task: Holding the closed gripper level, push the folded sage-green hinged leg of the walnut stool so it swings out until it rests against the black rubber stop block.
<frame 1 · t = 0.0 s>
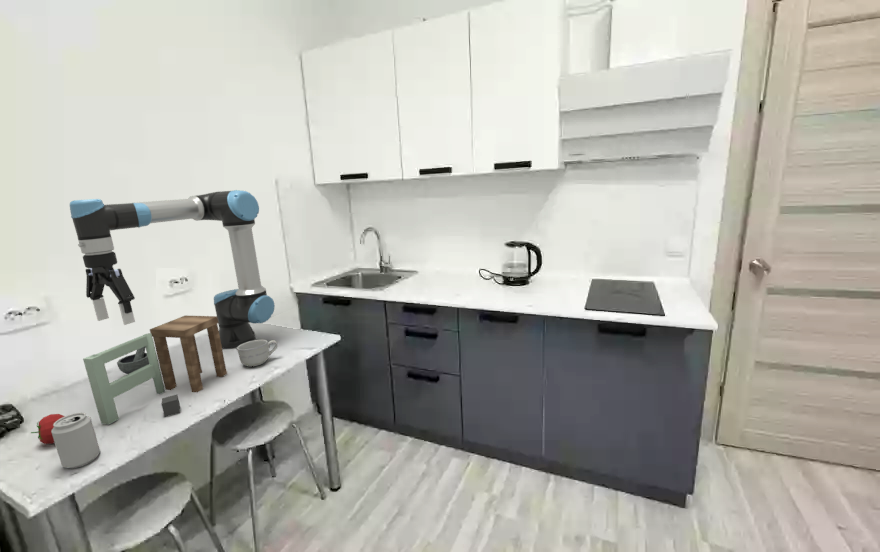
hand: (116, 321, 125), 28 cm above the table, tool pointing down, fingers open, 13 cm apart
can: (82, 461, 105), on the table
stop block: (172, 412, 125), on the table
mortar and pestle: (139, 374, 154), on the table
teacup: (260, 363, 158), on the table
tomato: (55, 442, 114), on the table
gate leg: (129, 376, 127), point 11 cm above the table, hinge at 0.0°
stool: (197, 381, 145), on the table
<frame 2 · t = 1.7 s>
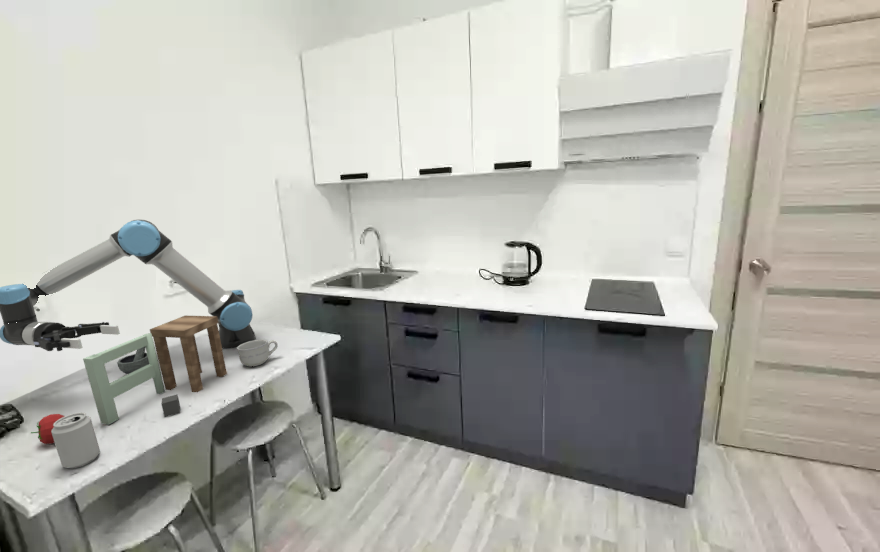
hand: (99, 336, 124), 24 cm above the table, tool horizontal, fingers open, 10 cm apart
nothing on the table moved.
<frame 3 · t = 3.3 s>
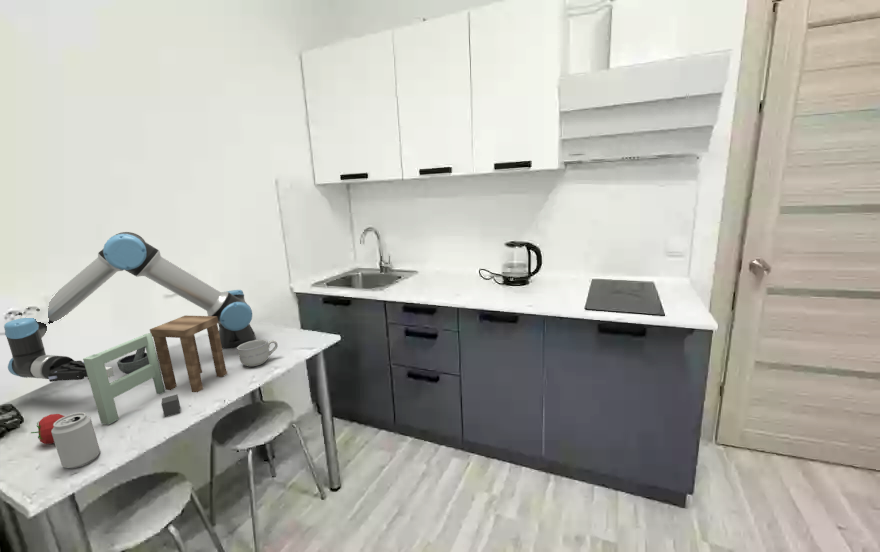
hand: (110, 372, 126), 13 cm above the table, tool horizontal, fingers closed
nothing on the table moved.
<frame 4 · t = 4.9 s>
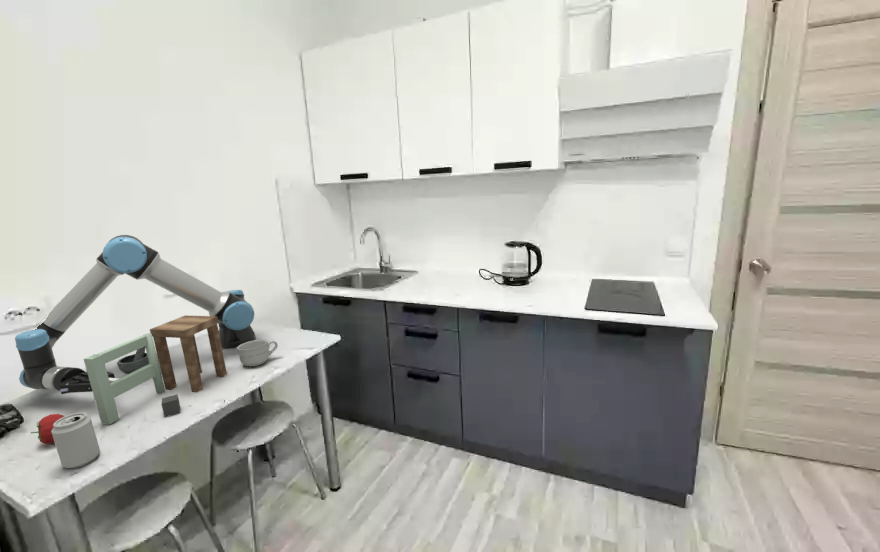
hand: (121, 384, 126), 9 cm above the table, tool horizontal, fingers closed
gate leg: (129, 376, 127), point 11 cm above the table, hinge at 0.6°, touching gripper
everything else where it was.
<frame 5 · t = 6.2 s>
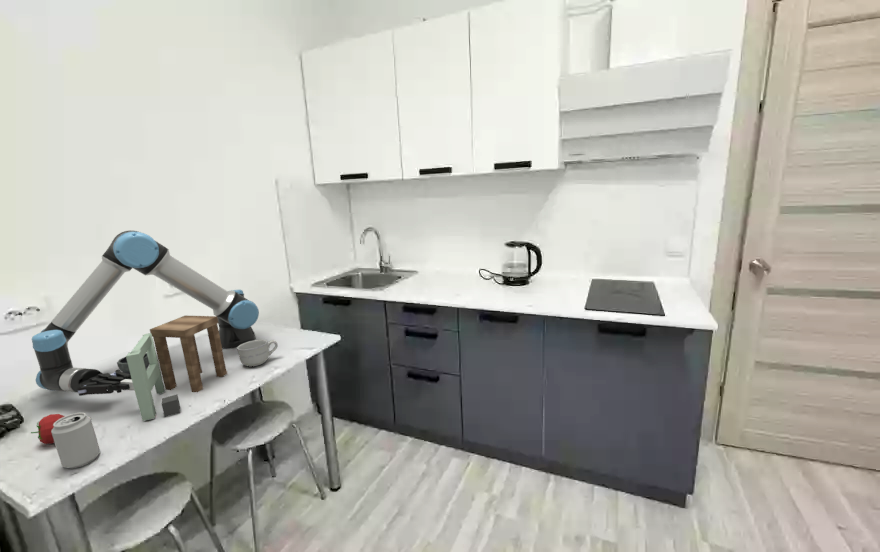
hand: (140, 385, 124), 9 cm above the table, tool horizontal, fingers closed
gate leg: (148, 374, 127), point 11 cm above the table, hinge at 38.4°, touching gripper
everything else where it was.
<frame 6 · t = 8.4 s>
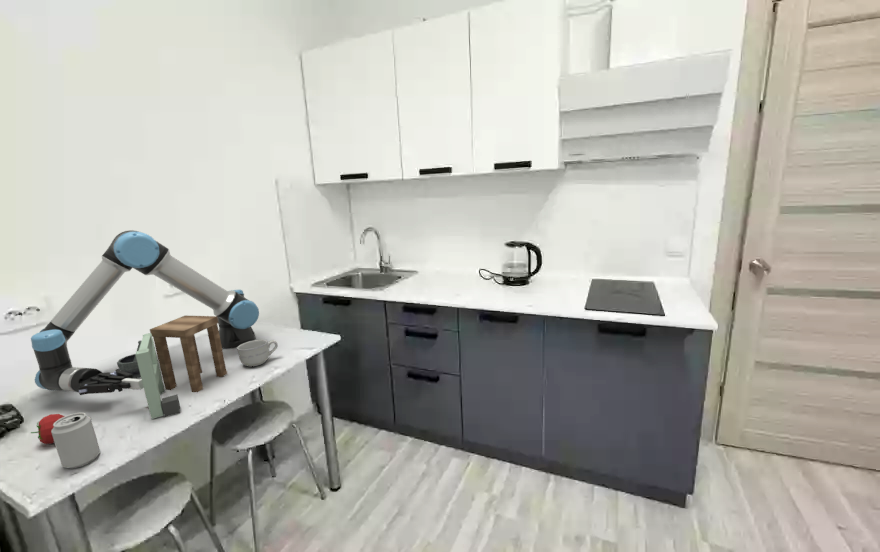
hand: (141, 384, 124), 9 cm above the table, tool horizontal, fingers closed
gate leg: (152, 373, 128), point 11 cm above the table, hinge at 45.3°
everything else where it was.
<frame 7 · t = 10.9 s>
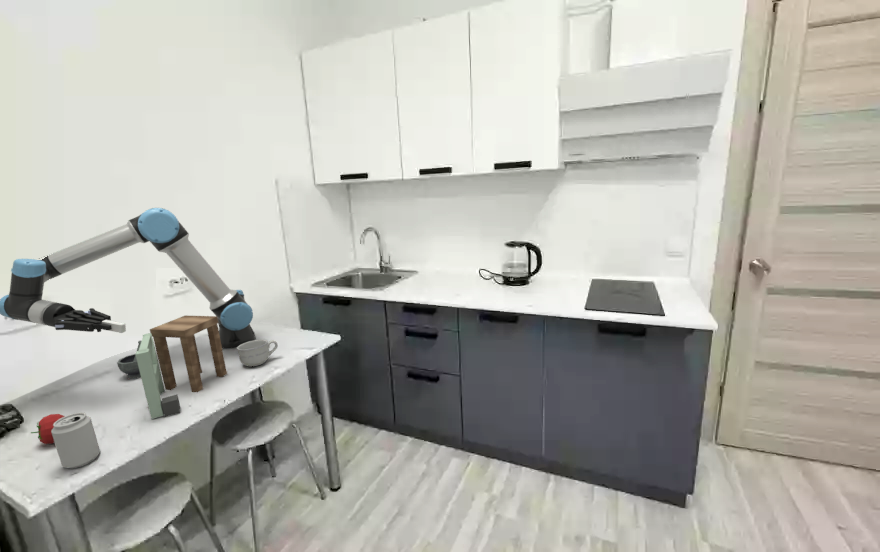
hand: (123, 328, 129), 24 cm above the table, tool horizontal, fingers closed
nothing on the table moved.
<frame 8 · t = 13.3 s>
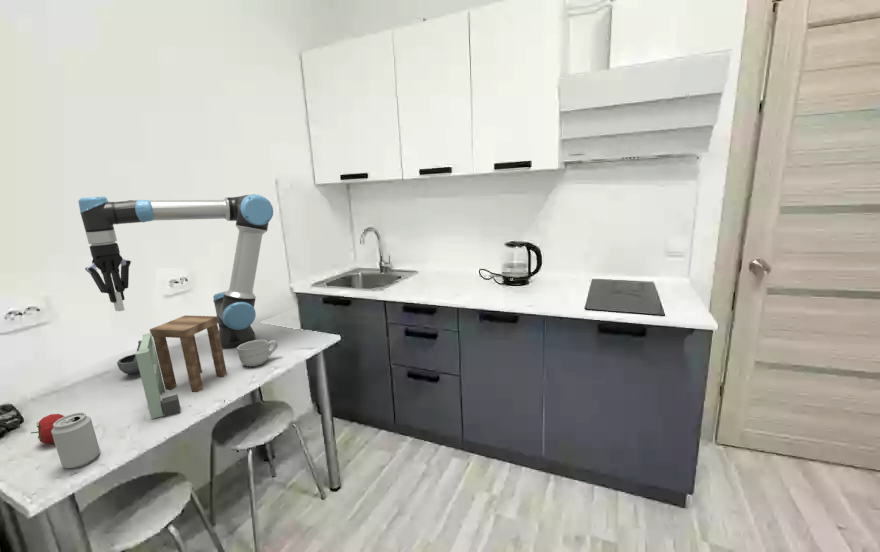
hand: (120, 310, 143), 26 cm above the table, tool pointing down, fingers closed
nothing on the table moved.
at the end: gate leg at +45° (first picture: +0°) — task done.
